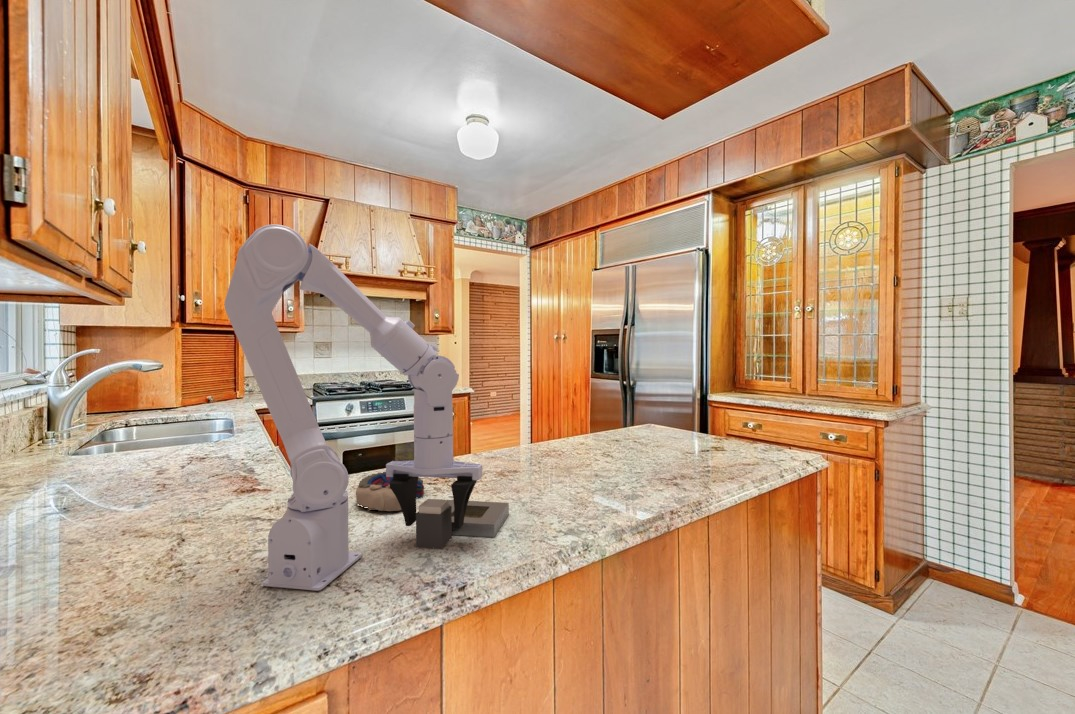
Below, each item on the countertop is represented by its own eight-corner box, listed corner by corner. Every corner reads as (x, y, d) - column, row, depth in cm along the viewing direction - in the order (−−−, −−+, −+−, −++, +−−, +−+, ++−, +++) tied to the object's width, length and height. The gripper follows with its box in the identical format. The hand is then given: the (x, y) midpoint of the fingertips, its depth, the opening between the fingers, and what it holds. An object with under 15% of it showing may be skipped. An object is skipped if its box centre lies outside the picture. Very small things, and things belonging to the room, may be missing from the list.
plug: (442, 549, 65) (441, 508, 65) (416, 547, 65) (415, 506, 65) (451, 538, 69) (451, 499, 69) (427, 536, 69) (426, 498, 69)
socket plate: (494, 537, 69) (494, 520, 69) (426, 533, 70) (426, 516, 70) (508, 514, 78) (508, 499, 78) (449, 510, 80) (449, 496, 80)
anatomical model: (429, 488, 95) (429, 466, 95) (410, 516, 78) (410, 489, 78) (372, 489, 94) (371, 467, 94) (341, 517, 78) (340, 490, 78)
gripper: (487, 431, 70) (488, 517, 70) (400, 429, 72) (401, 512, 72) (474, 440, 63) (475, 536, 63) (378, 437, 65) (379, 530, 65)
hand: (434, 525), depth 67 cm, fingers open, 7 cm apart
